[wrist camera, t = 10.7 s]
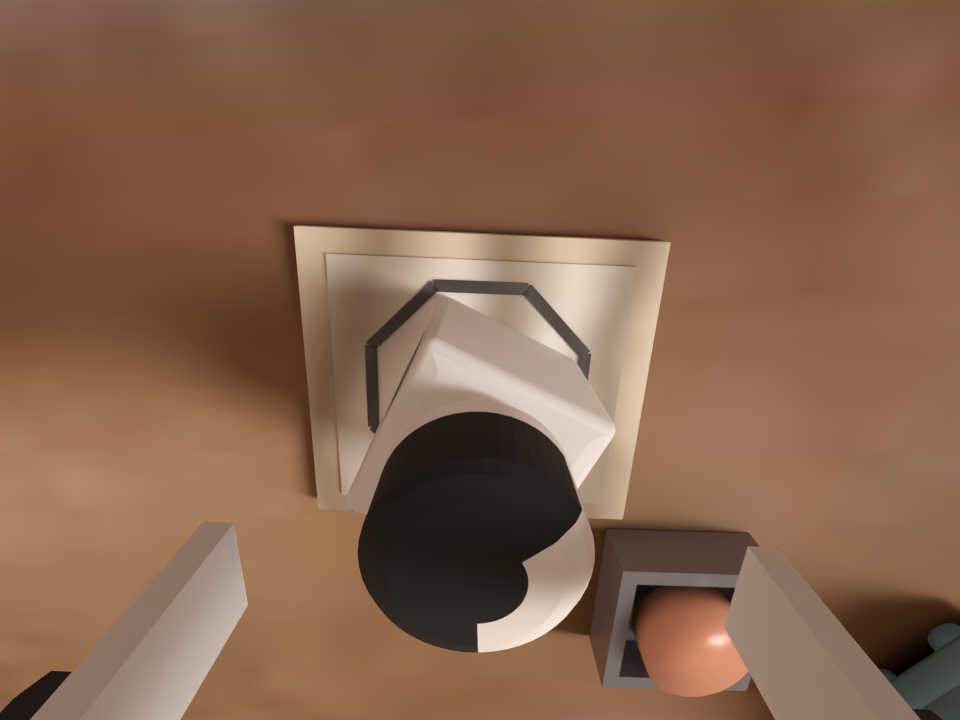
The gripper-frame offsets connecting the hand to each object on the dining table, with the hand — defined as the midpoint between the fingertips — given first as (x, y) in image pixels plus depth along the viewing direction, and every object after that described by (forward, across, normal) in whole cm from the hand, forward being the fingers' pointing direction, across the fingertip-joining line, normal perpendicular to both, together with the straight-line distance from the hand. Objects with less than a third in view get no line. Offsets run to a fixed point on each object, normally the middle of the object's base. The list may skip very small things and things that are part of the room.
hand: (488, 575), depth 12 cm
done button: (+12, +12, -14) cm, 22 cm away
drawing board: (+14, -1, 0) cm, 14 cm away
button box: (+14, +12, -14) cm, 24 cm away
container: (+13, 0, 0) cm, 13 cm away
